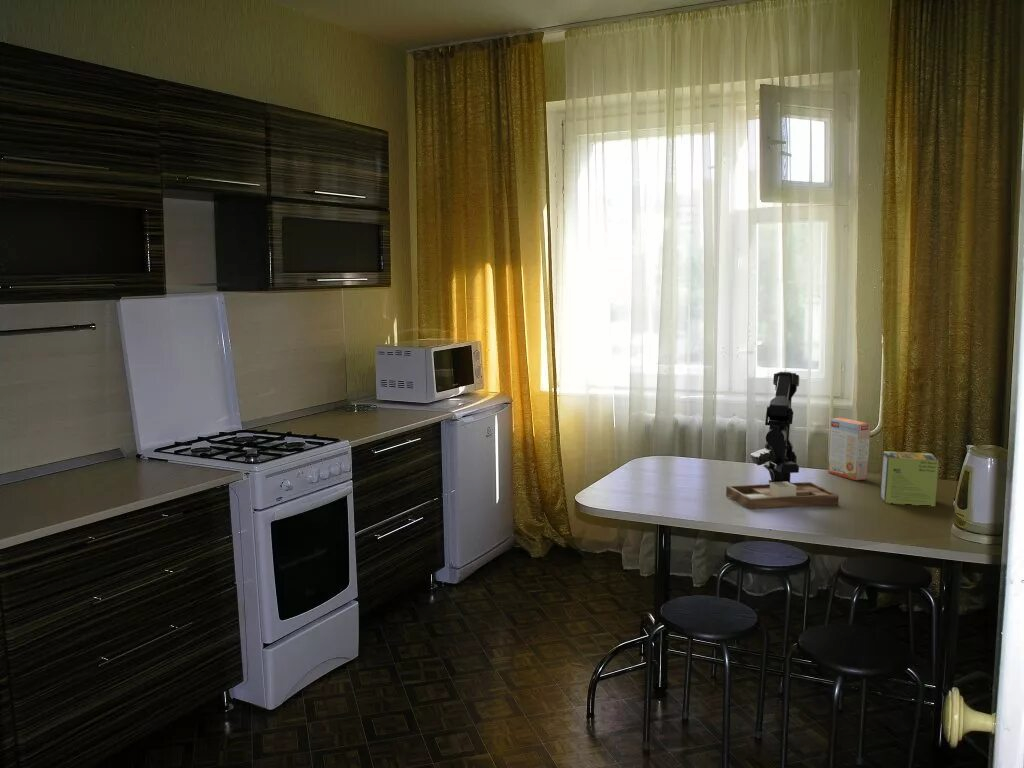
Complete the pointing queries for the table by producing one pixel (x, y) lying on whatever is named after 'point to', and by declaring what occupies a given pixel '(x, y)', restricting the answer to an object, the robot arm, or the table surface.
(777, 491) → the cream block
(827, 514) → the table surface
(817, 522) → the table surface
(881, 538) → the table surface
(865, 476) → the cracker box
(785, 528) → the table surface
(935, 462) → the protein box
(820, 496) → the tray
